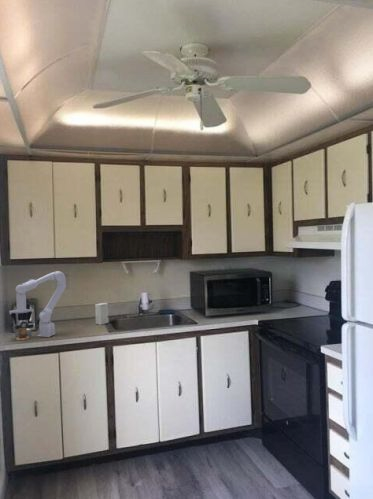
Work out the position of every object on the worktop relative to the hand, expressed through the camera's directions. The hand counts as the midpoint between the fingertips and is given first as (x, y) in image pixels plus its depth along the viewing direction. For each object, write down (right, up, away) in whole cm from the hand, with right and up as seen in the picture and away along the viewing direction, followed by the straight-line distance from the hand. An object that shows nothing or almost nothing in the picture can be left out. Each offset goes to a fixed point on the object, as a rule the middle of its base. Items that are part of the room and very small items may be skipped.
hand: (22, 324), depth 265 cm
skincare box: (+44, -7, +38) cm, 59 cm away
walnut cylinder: (0, -9, 0) cm, 9 cm away
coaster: (0, -9, 0) cm, 9 cm away
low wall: (-2, -9, +7) cm, 11 cm away
